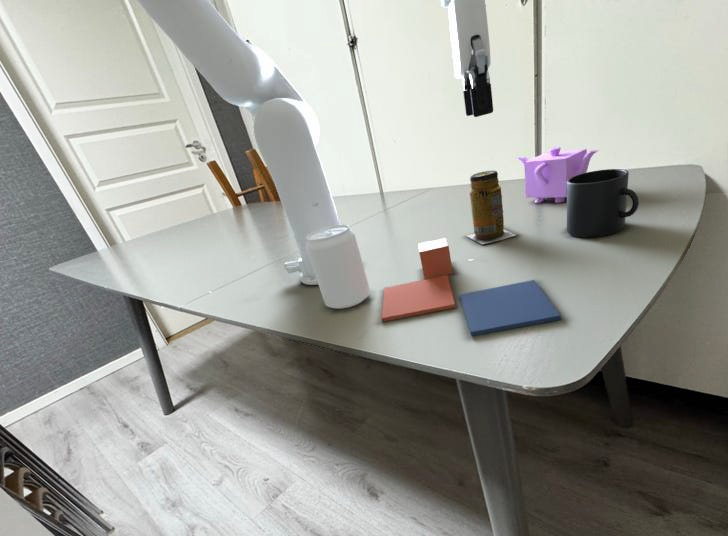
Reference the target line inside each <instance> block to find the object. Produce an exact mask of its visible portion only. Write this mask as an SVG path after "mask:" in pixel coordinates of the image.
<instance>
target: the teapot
mask: <svg viewBox="0 0 728 536" xmlns="http://www.w3.org/2000/svg"><path fill="white" fill-rule="evenodd" d="M561 149H562V148H561V147H560V146H556V147H552V148H549V149H548V152H544V153H542V154H540V155H537V156H535V157H533V158H531V159H529V158H527V157H525V156H521V157H517V158H516V159H517V160H519V161H520V162H521V164H522V165H523V168H524V184H525V185H524V187H525V198H526V199H527V198H528V199H529V198H531V199H532V198H533V199H534V198H536V199H535V200H534V203H535V204H538V203H543V202H544V201H545V199H546V198H554V203H557V204H558V203H563V202H565V201H566V198H567V180H568V179H570V178H571V177H574V176H576V175H579V174H583V173H587V172H588V169H589V165H590V161H591V159H592V157H593V156H594V154H596V153H598V152H599V151H600V150H599V149H595V150H590V151H588V150H587V148H584V149H572V150H571V149H570V150H561ZM587 151H588V152H587Z"/></svg>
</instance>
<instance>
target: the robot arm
mask: <svg viewBox="0 0 728 536" xmlns="http://www.w3.org/2000/svg"><path fill="white" fill-rule="evenodd" d="M440 1H441V7H442V8H448V20H449V21H448V22H449V31H450V42H451V50H452V59H453V68H454V78H456V79H457V80H461V79H462V86H463V87H462V88H463V91H462V93H463V103H464V111H465V115H466V116H467V117H470V116H473V117H474V118H479V117H481V116H485V115H489V114H492V113H493V112H494V104H493V92H492V83H491V77H490V73H489V69H490V67H491V47H490V46H491V45H490V35H489V34H490V33H489V25H488V15H487V5H486V0H440ZM137 2H138V3H139V4H140V6H141V7H142V9H144V11H145V12H146V13H147V14H148V15H149V17H150V18H151V19H152V21H154V23H155V24H157V26H158V27H159V28H160V29H161V30H162V31H163V33H164V34H165V35H166V36H167V37H168V39H170V40H171V41H172V42H173V44H174V45H175V46H176V47H177V49H178V50H179V51H180V52H181V54H183V56H184V57H185V58H186V59H187V60H188V61H189V62H190V63H191V65H192V66H193V67H194V68H195V69H196V71H198V72H199V74H200V75H201V76H202V77H203V78H204V79H205V80H206V82H207V83H208V84H209V86H211V88H212V89H213V90H214V92H216V93H217V94H218V96H220V98H221V99H222V100H224V101H226V102H227V103H228V104H231V105H234V106H237V107H245V109H246V110H247V111H248V112H249V113H250V114H251V116H252V117H253V118H254V120H253V135H254V139H255V142H256V146H257V148H258V151H259V153H260V156H261V157H262V159H263V161H264V164H265V166H266V168H267V171H268V172H269V174H270V177H271V178H272V182H273V184H274V186H275V189H276V192H277V194H278V197H279V200H280V204H281V205H282V208H283V210H284V211H283V212H284V213H285V216H286V219H287V222H288V225H289V228H290V230H291V233H292V236H293V239H294V241H295V244H296V247H297V250H298V253H299V255H300V257H299V258H298V259H297V260H295V261H288V262H284V263H283V266H284V267H283V268H284V270H285V271H286V272H287V273H288V274H293V273H297V272H299V273H301V274H300V275H299V278H300V281H301V282H302V284H303V285H308V286H317V285H318V282H317V279H316V276H315V273H314V270H313V267H312V264H311V261H310V259H309V256H308V253H307V250H306V242H307V240H306V237H307V236H308V235H309V234H311V233H313V232H315V231H317V230H320V229H323V228H326V227H330V226H335V225H341V223H340V220H339V217H338V213H337V208H336V205H335V202H334V199H333V195H332V192H331V188H330V186H329V182H328V179H327V175H326V173H325V170H324V166H323V164H322V160H321V158H320V155H319V153H318V150H317V147H316V145H317V144H318V142H319V138H320V125H319V121H318V118H317V115H316V114H315V112H314V111H313V109H312V108H311V106H310V105H309V104H308V103H307V102H306V100H305V99H304V98H303V97H302V95H301V94H300V92H298V91H297V89H296V88H295V86H294V85H293V84H292V83H291V82H290V80H289V79H288V77H286V76H285V74H284V73H283V72H282V71H281V69H279V67H278V65H277V64H275V62H274V61H273V59H271V57H269V55H267V53H266V52H265V51H263V50H262V49H261V48H259V47H257V46H256V45H254V44H252V43H250V42H248V41H246V40H245V39H244V38H242V37H241V36H240V35H239V34H238V33H237V32H236V31H235V29H234V28H232V26H231V25H230V24H229V23H228V21H226V19H225V18H224V17H223V15H221V14H220V12H219V11H218V10H217V8H216V7H215V6H214V5H213V3H212V2H211V0H137ZM318 286H319V285H318Z"/></svg>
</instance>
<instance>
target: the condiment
mask: <svg viewBox="0 0 728 536" xmlns="http://www.w3.org/2000/svg"><path fill="white" fill-rule="evenodd" d="M498 175H499V173H498V171H497V170H486V171H485V170H484V171H481V172H477V173H474V174H472V175H471V176H470V178H469V181H470V188H471V189H470V191H469V199H470V210H471V216H472V218H471V219H472V225H473V233H471V234H467V235H466V237H468V238H469V239H471V240H473V241H475V242H476V243H478V244H480V245H485V244H486V245H487V244H490V243H495V242H498V241H503V240H505V239H510V238H511V237H516V233H513V232H511V231H508V230H507V229H505V222H504V221H505V219H504V209H503V207H504V205H503V194H502V187H501V185H500V184H499V182H500V181H499V176H498Z"/></svg>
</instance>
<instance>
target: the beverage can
mask: <svg viewBox="0 0 728 536" xmlns="http://www.w3.org/2000/svg"><path fill="white" fill-rule="evenodd" d="M306 240H307V242H306V250H307V253H308V256H309V259H310V261H311V264H312V267H313V270H314V273H315V276H316V279H317V282H318V287H319V291H320V294H321V296H322V299H323V302H324V304H325V306H326V307H327V308H331V309H337V310H339V309H340V310H342V309H347V308H351V307H355V306H357V305H359V304H361V303H363V302H364V301H365V300H366V299H367V298H368V297H369V296H370V294H371V288H370V284H369V281H368V278H367V274H366V270H365V267H364V263H363V259H362V255H361V252H360V248H359V244H358V241H357V236H356V234H355V232H354V231H353V230H352V229H351V227H350V225H349V224H340V225H335V226H330V227H326V228H323V229H320V230H317V231H315V232H313V233H311V234H309V235H308V236H307V237H306Z"/></svg>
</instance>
